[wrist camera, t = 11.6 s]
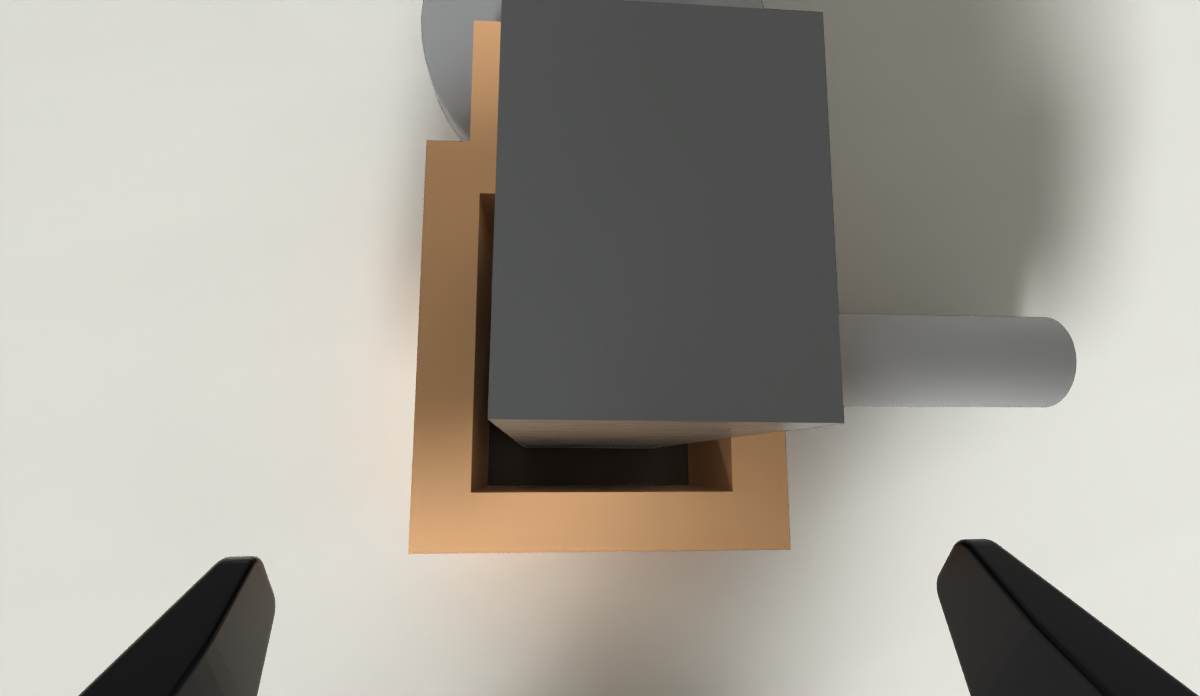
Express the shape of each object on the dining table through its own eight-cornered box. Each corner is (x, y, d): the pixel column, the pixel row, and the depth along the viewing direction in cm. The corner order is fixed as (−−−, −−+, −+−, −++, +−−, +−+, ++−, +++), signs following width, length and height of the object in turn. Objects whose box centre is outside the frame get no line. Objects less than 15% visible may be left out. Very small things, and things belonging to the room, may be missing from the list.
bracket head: (1008, 526, 20) (1209, 554, 14) (420, 531, 18) (361, 565, 12) (955, -23, 22) (1102, -196, 17) (444, -54, 21) (406, -254, 15)
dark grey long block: (649, 448, 19) (844, 422, 7) (523, 447, 19) (487, 418, 7) (649, 291, 20) (822, 11, 8) (527, 287, 20) (501, -8, 7)
